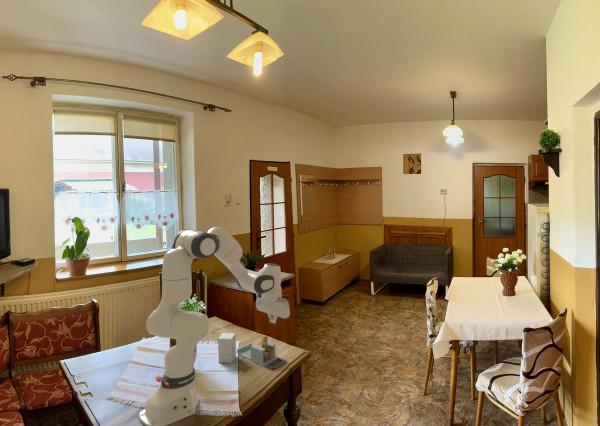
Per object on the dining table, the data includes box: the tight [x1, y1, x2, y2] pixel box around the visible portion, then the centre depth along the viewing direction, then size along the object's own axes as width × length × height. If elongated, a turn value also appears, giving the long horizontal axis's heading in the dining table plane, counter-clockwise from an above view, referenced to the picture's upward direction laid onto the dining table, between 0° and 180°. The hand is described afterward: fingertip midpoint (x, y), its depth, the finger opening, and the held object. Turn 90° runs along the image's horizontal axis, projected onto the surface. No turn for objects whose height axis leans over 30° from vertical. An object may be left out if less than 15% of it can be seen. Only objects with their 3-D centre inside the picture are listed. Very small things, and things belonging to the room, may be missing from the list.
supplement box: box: [217, 332, 237, 364], centre depth 183 cm, size 7×7×13 cm
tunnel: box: [236, 340, 287, 371], centre depth 185 cm, size 10×26×7 cm, turn 50°
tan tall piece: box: [261, 335, 274, 362], centre depth 183 cm, size 6×7×11 cm
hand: (272, 322), depth 178 cm, fingers closed
